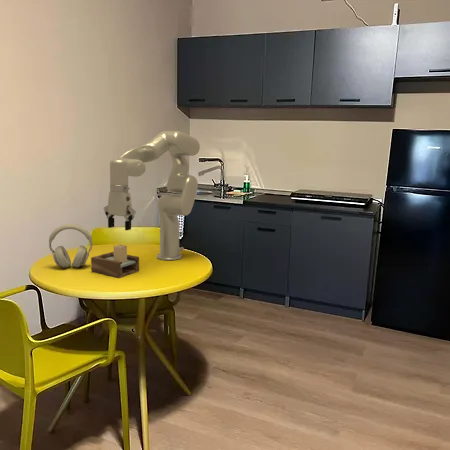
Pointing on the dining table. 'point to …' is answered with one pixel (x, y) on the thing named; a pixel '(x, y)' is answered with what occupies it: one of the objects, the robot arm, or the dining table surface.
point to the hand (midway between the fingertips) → (119, 228)
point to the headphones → (61, 253)
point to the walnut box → (113, 266)
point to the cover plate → (121, 255)
